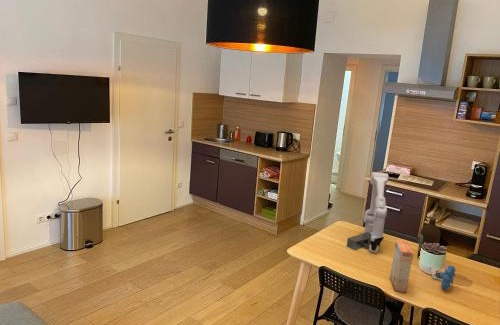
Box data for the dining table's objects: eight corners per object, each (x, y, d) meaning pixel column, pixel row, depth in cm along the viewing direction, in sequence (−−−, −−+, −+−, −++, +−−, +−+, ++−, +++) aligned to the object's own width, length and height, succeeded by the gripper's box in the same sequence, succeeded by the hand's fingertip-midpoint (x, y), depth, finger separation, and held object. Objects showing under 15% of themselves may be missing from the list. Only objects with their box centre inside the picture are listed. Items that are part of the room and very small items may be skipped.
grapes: (441, 281, 196) (445, 259, 194) (455, 286, 191) (460, 264, 189) (432, 288, 188) (437, 266, 186) (447, 294, 184) (451, 271, 181)
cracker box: (407, 293, 182) (414, 252, 177) (393, 291, 183) (400, 250, 179) (401, 279, 195) (408, 241, 191) (389, 277, 196) (395, 239, 192)
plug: (355, 242, 237) (356, 237, 237) (378, 251, 227) (379, 245, 226) (352, 244, 235) (353, 238, 234) (375, 252, 224) (375, 247, 224)
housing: (366, 239, 243) (367, 232, 242) (374, 243, 238) (375, 235, 237) (346, 246, 231) (347, 238, 229) (354, 250, 226) (355, 241, 225)
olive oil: (434, 256, 226) (442, 216, 220) (436, 263, 216) (444, 222, 211) (415, 252, 229) (422, 213, 224) (416, 259, 219) (423, 218, 214)
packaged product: (431, 258, 213) (450, 262, 209) (429, 266, 214) (449, 270, 210) (433, 271, 196) (454, 276, 193) (431, 280, 197) (453, 285, 194)
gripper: (376, 222, 231) (373, 243, 234) (366, 228, 220) (363, 250, 223) (387, 226, 227) (384, 247, 230) (378, 232, 216) (375, 254, 219)
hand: (375, 249), depth 226 cm, fingers closed on plug, 4 cm apart
